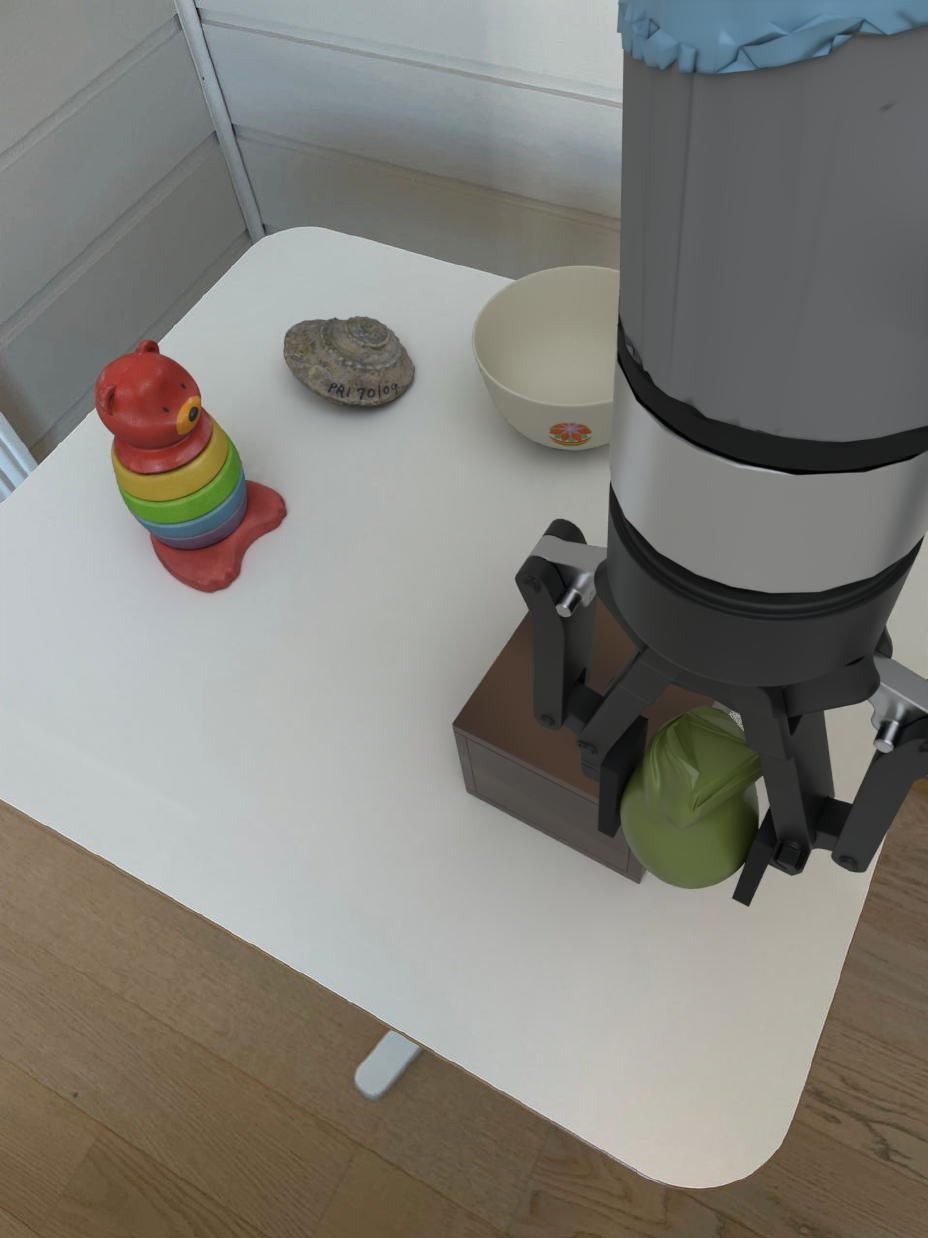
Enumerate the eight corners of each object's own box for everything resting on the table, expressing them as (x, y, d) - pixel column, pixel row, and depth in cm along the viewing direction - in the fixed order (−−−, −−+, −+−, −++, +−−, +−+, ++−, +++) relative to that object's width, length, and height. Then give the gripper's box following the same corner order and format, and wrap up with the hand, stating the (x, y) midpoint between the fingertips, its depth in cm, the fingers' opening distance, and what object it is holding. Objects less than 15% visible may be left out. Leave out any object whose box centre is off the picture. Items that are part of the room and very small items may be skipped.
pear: (694, 764, 45) (719, 646, 37) (776, 856, 43) (823, 751, 34) (595, 832, 44) (598, 725, 36) (674, 932, 41) (697, 841, 33)
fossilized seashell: (360, 427, 85) (333, 349, 81) (279, 419, 92) (250, 347, 88) (436, 371, 91) (414, 296, 87) (355, 367, 98) (331, 298, 94)
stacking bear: (219, 601, 79) (137, 441, 64) (122, 557, 82) (23, 396, 67) (297, 505, 83) (237, 335, 69) (202, 467, 87) (126, 298, 72)
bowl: (698, 387, 87) (711, 291, 78) (627, 519, 79) (632, 430, 71) (530, 341, 92) (526, 247, 84) (449, 461, 85) (435, 371, 76)
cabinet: (571, 629, 74) (570, 548, 66) (734, 703, 70) (755, 625, 61) (466, 792, 68) (451, 723, 60) (639, 884, 63) (648, 824, 55)
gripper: (1229, 502, 22) (930, 868, 42) (509, 284, 29) (537, 687, 48) (1158, 773, 19) (869, 1035, 38) (364, 458, 26) (456, 816, 45)
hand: (684, 840), depth 43 cm, fingers closed on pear, 5 cm apart
